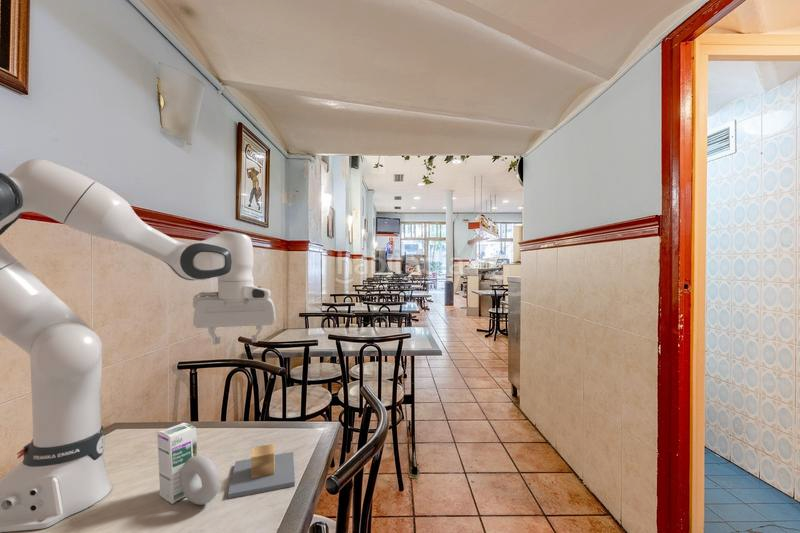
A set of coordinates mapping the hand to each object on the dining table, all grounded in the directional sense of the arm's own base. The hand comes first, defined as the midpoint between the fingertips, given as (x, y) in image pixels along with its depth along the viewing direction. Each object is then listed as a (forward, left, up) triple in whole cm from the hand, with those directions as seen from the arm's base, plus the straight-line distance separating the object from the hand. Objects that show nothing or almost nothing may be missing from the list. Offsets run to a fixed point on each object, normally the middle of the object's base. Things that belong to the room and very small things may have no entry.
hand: (236, 342), depth 99 cm
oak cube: (+7, -13, -29) cm, 32 cm away
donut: (-5, -20, -30) cm, 36 cm away
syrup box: (-11, -15, -30) cm, 35 cm away
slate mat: (+7, -13, -30) cm, 33 cm away
